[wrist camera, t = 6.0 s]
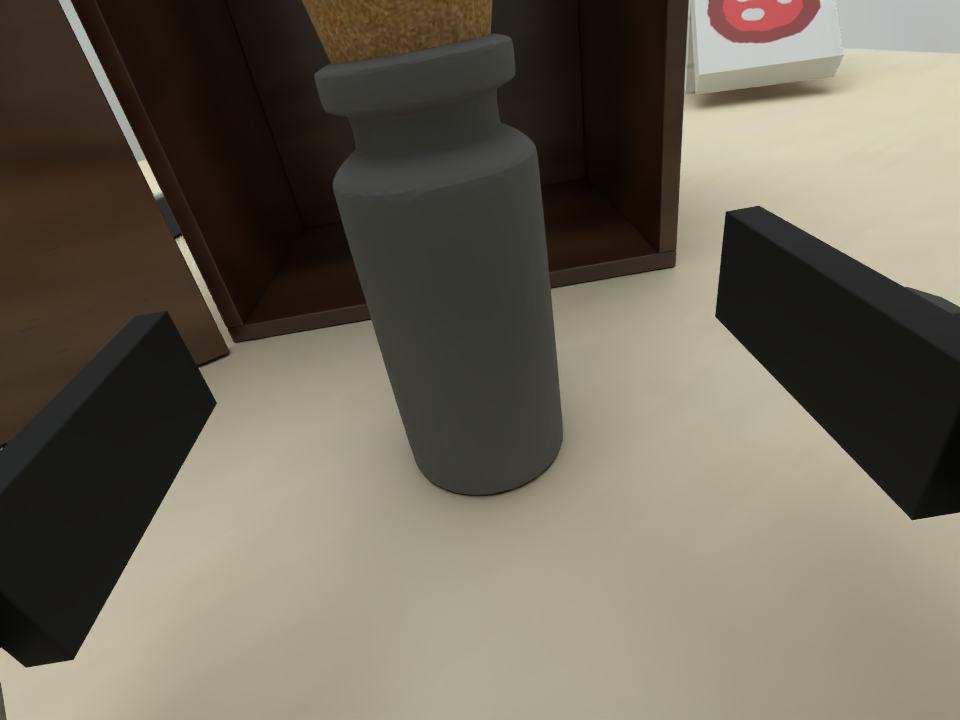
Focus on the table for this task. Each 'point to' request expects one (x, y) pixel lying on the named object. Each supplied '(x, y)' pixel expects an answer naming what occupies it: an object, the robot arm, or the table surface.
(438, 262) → the bottle
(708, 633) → the table surface
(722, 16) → the pizza boxes
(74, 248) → the cupboard door
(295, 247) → the cupboard
